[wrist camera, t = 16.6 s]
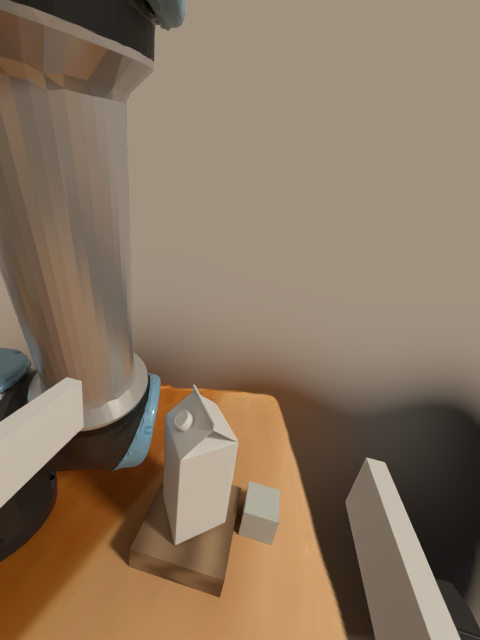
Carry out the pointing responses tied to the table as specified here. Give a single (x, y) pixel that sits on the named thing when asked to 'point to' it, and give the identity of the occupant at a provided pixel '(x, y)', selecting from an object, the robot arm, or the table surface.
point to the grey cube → (260, 513)
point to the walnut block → (184, 549)
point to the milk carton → (197, 466)
